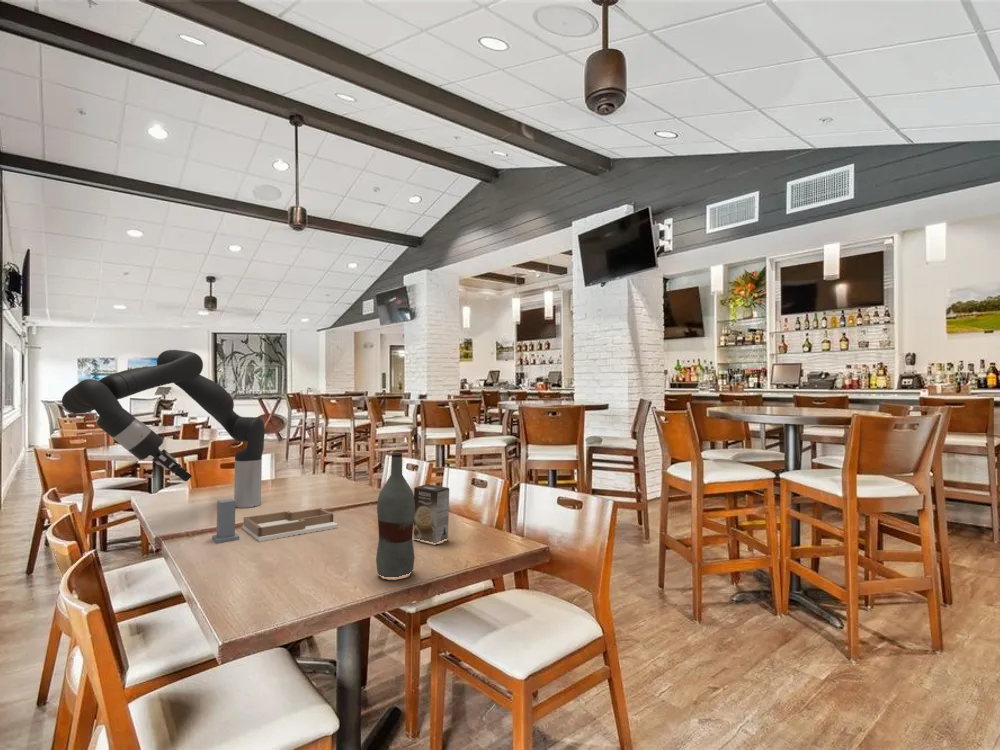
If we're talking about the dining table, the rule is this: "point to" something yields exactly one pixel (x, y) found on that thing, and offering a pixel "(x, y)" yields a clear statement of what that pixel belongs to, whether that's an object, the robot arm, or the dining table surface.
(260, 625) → the dining table surface
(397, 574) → the bottle
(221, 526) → the slate keyhole peg
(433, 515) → the coffee box
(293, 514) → the keyhole guide board
